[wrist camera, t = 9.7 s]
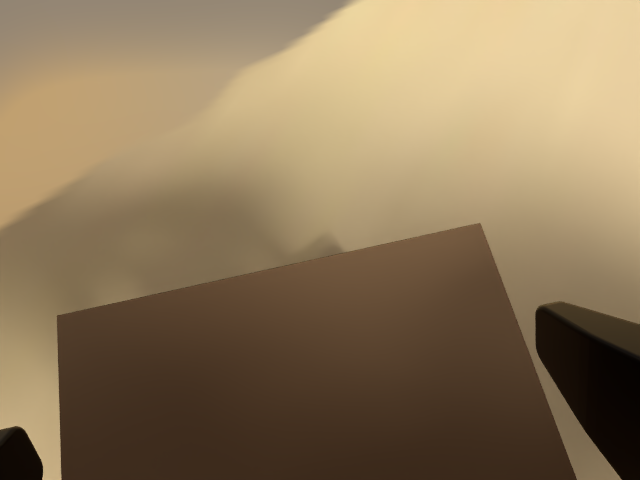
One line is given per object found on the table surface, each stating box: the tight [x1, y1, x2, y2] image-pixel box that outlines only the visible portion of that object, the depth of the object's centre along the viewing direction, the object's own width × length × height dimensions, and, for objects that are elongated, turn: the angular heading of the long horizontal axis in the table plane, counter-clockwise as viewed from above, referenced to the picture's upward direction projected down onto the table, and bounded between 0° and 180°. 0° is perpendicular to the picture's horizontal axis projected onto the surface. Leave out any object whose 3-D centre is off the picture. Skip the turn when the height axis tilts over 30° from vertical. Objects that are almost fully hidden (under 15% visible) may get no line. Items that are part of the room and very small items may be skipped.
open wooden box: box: [57, 223, 577, 480], centre depth 11 cm, size 6×6×11 cm
